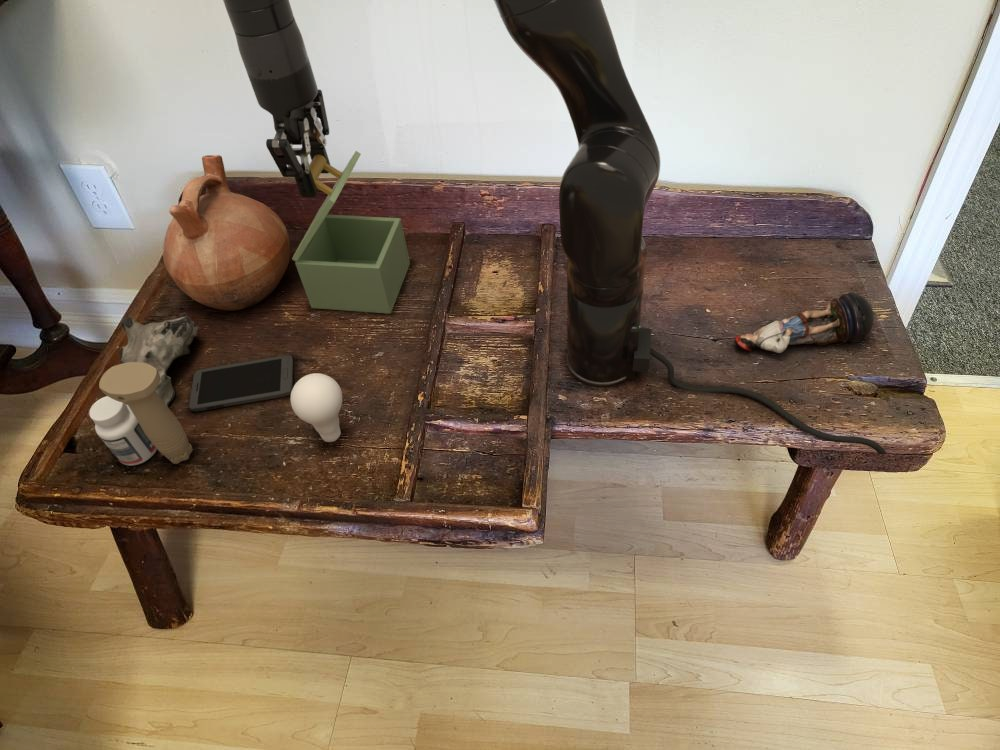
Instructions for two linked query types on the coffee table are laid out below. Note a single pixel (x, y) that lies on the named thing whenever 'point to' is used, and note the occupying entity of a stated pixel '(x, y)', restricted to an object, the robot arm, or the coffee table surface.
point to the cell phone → (242, 383)
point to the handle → (147, 407)
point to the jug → (224, 243)
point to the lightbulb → (318, 404)
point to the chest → (355, 264)
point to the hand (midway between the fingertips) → (317, 183)
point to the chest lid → (316, 169)
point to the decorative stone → (158, 346)
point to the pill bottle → (121, 431)
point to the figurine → (815, 326)
